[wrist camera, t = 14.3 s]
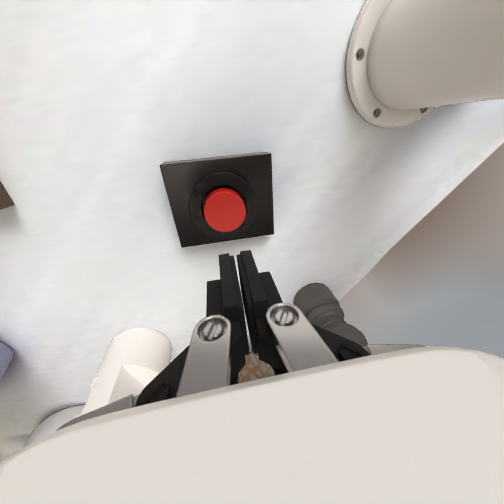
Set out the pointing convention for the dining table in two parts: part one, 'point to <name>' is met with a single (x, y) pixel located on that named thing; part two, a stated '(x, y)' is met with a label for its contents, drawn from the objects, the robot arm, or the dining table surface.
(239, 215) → the button
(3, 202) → the panel
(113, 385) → the base with upright slab
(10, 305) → the dining table surface
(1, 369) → the bowl
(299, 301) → the candle holder
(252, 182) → the button block
